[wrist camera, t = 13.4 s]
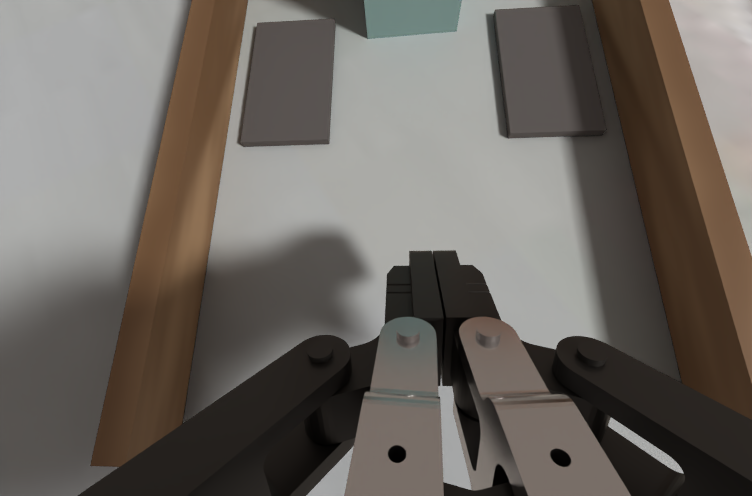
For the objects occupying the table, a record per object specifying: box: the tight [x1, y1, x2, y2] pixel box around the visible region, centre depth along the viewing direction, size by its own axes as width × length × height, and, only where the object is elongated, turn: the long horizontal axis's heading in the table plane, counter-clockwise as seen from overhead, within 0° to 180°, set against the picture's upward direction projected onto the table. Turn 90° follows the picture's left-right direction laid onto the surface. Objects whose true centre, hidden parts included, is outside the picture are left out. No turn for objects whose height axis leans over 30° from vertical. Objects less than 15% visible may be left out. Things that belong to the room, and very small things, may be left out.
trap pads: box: [241, 5, 607, 147], centre depth 19 cm, size 18×8×1 cm, turn 90°
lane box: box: [90, 0, 752, 467], centre depth 16 cm, size 22×29×6 cm
